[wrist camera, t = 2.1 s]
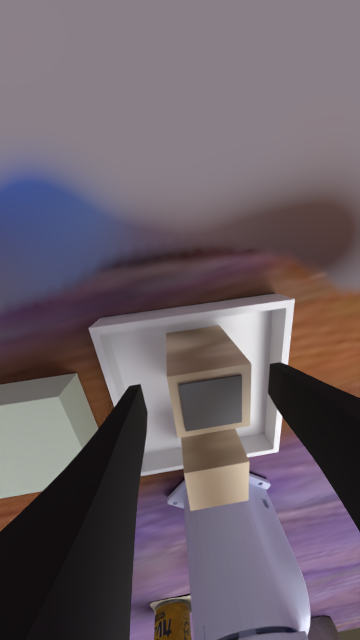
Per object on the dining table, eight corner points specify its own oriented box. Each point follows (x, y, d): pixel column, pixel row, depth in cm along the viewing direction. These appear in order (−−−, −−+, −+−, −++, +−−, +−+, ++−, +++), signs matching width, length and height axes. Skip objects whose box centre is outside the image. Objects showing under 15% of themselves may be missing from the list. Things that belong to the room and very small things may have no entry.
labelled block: (219, 325, 13) (252, 365, 8) (221, 370, 14) (251, 427, 9) (165, 333, 13) (166, 378, 8) (173, 377, 14) (177, 439, 9)
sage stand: (76, 372, 14) (58, 396, 11) (106, 450, 17) (97, 481, 14) (-42, 390, 13) (-86, 419, 11) (11, 466, 16) (-15, 501, 14)
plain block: (223, 398, 15) (249, 462, 10) (224, 431, 16) (248, 500, 12) (177, 406, 15) (184, 473, 10) (183, 438, 16) (190, 511, 12)
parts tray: (100, 317, 12) (88, 328, 10) (275, 293, 13) (294, 299, 11) (140, 453, 17) (137, 476, 15) (266, 431, 18) (278, 451, 16)
